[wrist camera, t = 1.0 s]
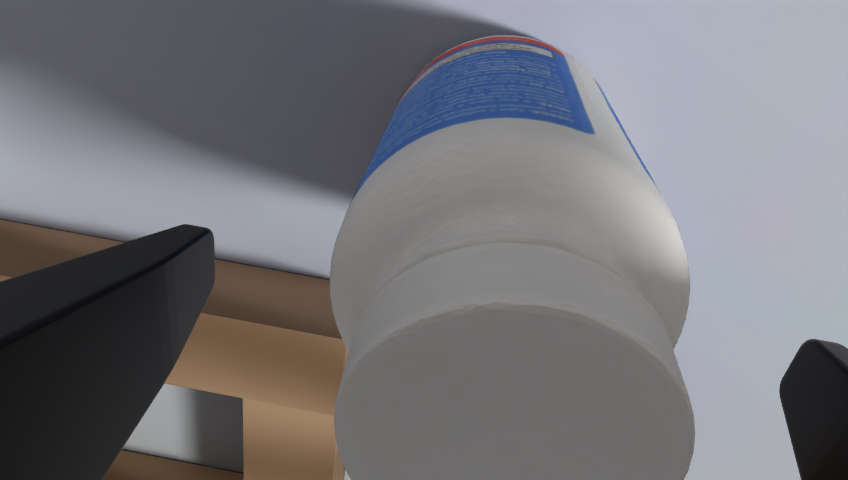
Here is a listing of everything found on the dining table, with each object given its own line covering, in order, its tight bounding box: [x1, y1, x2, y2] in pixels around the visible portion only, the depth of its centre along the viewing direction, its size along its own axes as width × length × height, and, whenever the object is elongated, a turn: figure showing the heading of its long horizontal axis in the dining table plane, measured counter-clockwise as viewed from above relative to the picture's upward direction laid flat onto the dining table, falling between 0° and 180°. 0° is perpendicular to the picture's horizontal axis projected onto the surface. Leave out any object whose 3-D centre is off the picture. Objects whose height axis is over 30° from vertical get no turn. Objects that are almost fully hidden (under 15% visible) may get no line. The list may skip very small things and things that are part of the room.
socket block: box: [0, 220, 348, 480], centre depth 20 cm, size 12×12×2 cm
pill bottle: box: [330, 35, 695, 480], centre depth 11 cm, size 6×5×10 cm
